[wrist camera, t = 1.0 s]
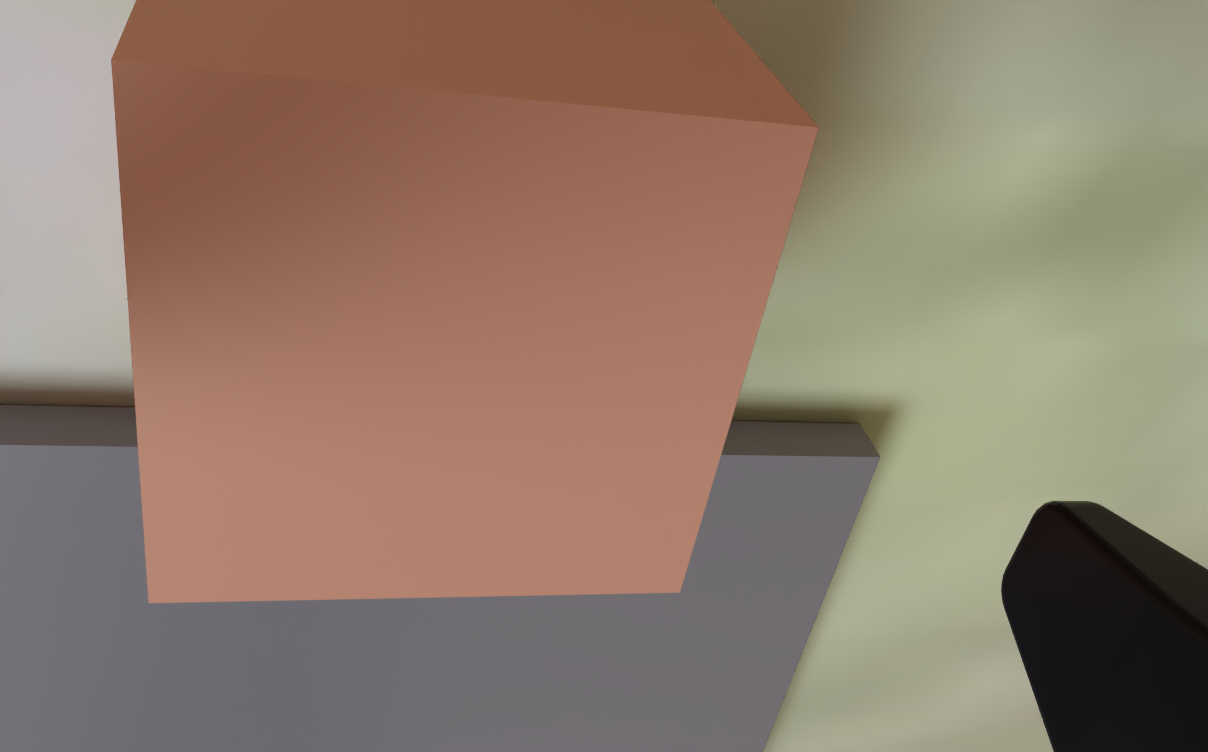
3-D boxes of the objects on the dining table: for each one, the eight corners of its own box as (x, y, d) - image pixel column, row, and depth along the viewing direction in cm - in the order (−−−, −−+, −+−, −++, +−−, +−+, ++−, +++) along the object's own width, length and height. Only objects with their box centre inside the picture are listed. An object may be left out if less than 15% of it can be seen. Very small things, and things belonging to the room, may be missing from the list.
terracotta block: (588, 322, 15) (679, 592, 11) (199, 305, 14) (148, 603, 10) (664, -54, 13) (819, 127, 9) (187, -119, 11) (111, 59, 7)
